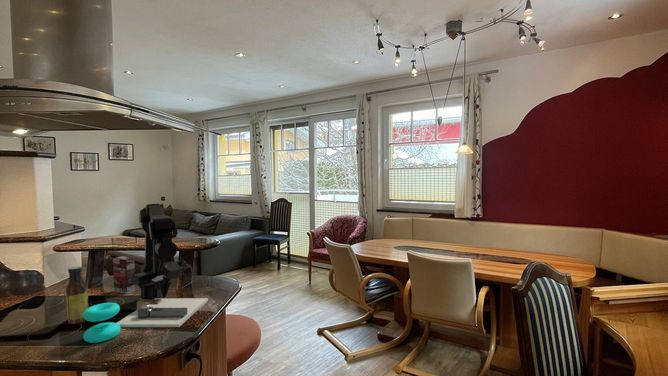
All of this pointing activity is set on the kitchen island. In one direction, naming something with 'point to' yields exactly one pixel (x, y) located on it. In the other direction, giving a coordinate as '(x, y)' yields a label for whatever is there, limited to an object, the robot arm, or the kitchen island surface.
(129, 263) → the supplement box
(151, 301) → the keeper
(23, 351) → the kitchen island surface
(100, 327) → the donuts
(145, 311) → the pivot link
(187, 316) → the base board
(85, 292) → the sauce bottle
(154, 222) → the robot arm
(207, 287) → the kitchen island surface
